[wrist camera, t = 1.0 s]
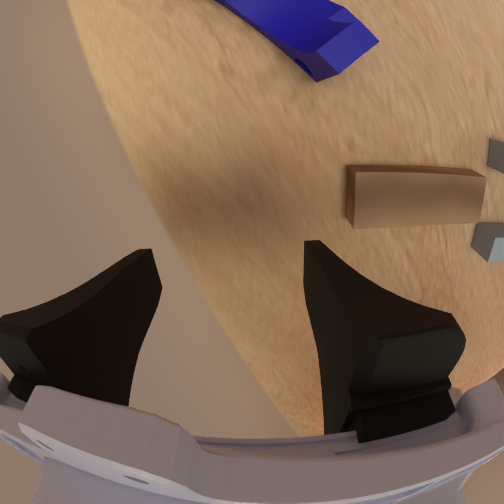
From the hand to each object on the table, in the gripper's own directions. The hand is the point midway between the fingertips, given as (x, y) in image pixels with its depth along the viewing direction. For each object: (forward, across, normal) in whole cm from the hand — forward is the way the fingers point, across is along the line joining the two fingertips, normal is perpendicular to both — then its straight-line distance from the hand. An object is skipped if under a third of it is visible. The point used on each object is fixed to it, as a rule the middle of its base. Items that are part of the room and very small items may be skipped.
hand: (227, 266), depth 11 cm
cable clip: (+10, -3, -14) cm, 17 cm away
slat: (+10, -14, 0) cm, 17 cm away
